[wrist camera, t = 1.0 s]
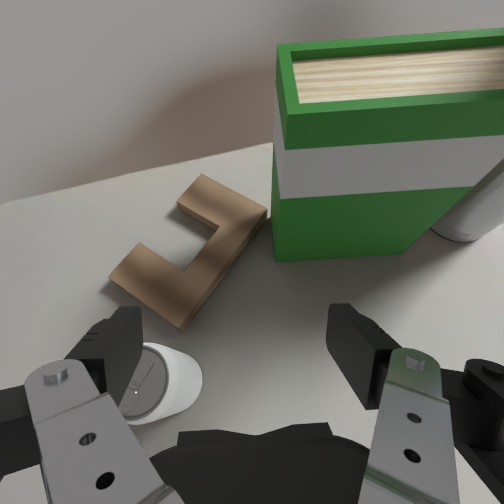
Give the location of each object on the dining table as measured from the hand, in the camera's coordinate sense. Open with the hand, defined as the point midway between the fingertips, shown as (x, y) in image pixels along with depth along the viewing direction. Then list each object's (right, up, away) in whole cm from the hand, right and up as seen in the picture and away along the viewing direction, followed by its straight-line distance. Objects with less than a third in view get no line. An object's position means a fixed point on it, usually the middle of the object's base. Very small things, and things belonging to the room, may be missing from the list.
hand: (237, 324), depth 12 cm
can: (-8, -12, +22) cm, 26 cm away
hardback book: (+12, +6, +29) cm, 32 cm away
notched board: (-8, +4, +29) cm, 30 cm away
